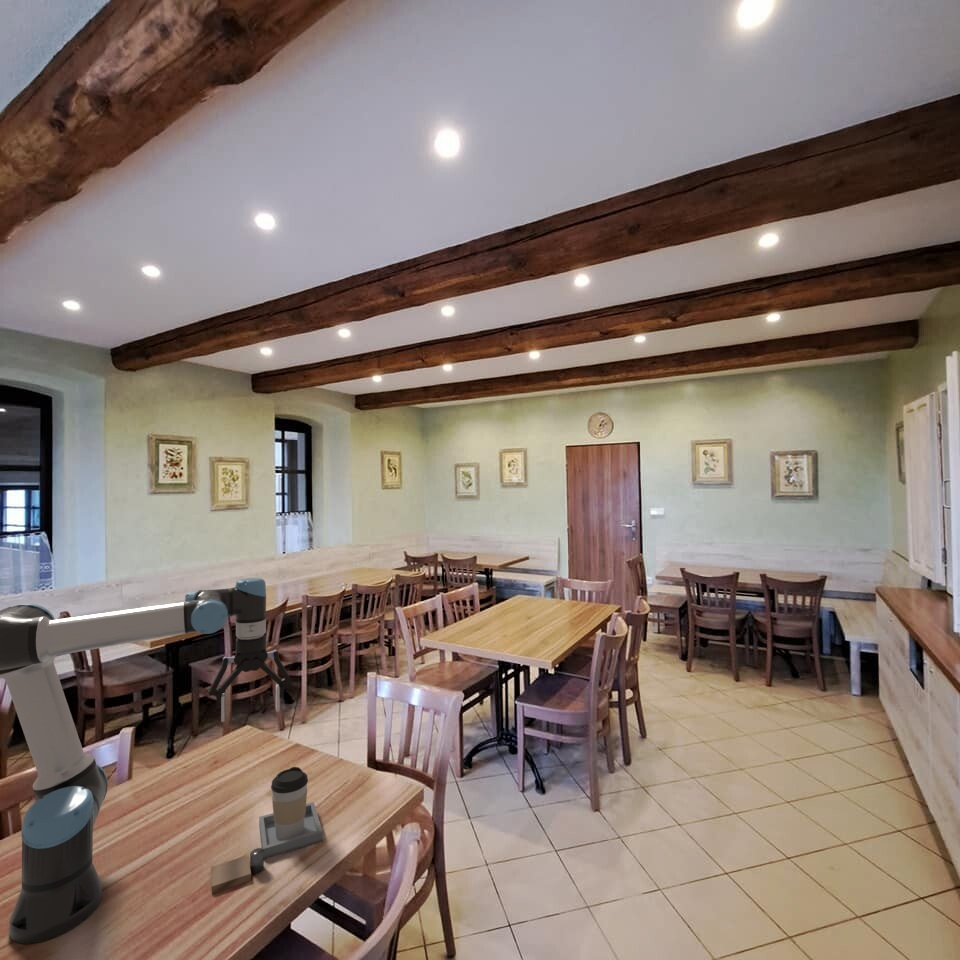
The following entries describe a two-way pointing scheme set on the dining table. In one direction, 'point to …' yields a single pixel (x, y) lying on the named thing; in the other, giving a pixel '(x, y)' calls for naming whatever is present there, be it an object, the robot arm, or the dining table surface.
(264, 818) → the tray
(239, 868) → the board
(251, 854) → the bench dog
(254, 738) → the dining table surface
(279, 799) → the coffee cup
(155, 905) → the dining table surface
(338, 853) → the dining table surface
